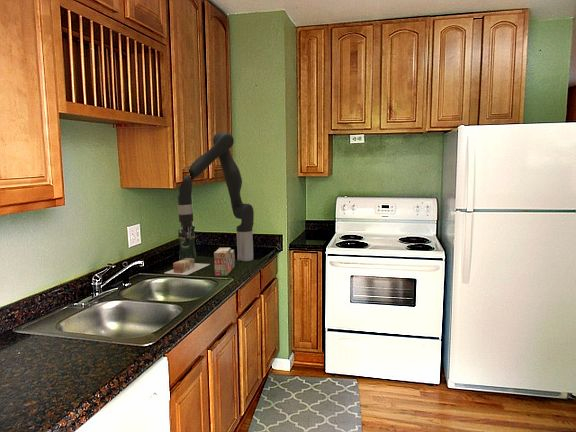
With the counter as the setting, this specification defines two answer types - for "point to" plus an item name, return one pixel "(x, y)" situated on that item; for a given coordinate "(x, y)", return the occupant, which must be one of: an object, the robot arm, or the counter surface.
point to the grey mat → (196, 267)
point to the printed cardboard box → (224, 261)
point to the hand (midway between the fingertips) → (187, 244)
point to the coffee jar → (187, 248)
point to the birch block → (183, 265)
